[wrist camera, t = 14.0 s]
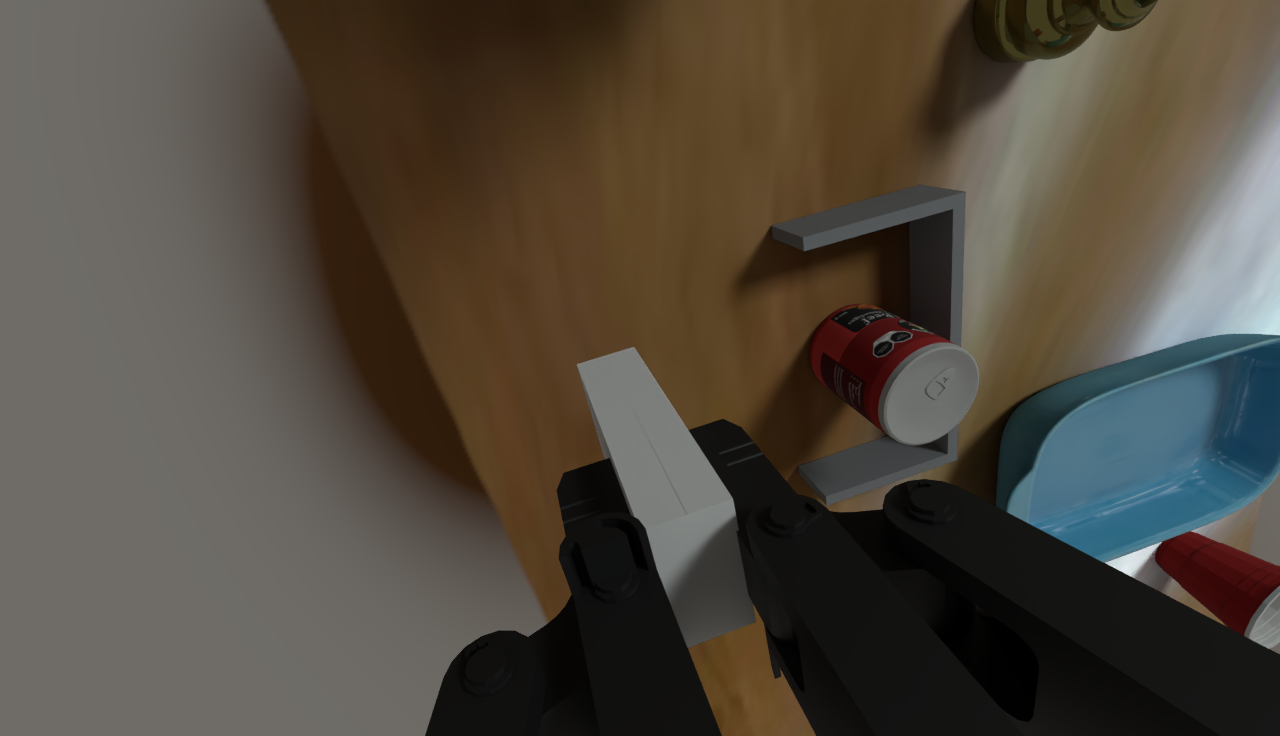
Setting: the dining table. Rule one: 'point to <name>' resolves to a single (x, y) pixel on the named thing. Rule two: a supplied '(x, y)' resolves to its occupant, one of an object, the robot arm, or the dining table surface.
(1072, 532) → the casserole dish
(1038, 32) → the olive green lumpy figure
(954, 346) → the canned food
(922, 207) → the box
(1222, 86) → the dining table surface
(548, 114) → the dining table surface
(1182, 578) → the plastic cup
